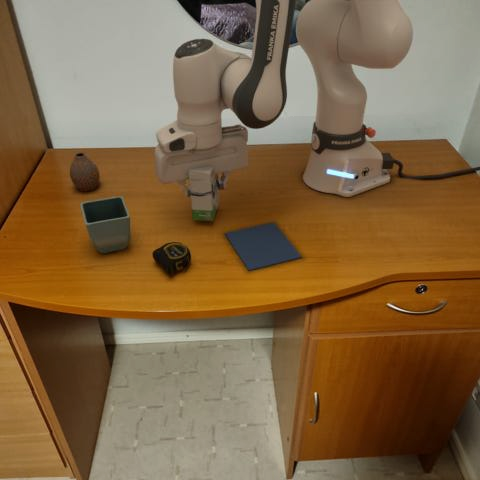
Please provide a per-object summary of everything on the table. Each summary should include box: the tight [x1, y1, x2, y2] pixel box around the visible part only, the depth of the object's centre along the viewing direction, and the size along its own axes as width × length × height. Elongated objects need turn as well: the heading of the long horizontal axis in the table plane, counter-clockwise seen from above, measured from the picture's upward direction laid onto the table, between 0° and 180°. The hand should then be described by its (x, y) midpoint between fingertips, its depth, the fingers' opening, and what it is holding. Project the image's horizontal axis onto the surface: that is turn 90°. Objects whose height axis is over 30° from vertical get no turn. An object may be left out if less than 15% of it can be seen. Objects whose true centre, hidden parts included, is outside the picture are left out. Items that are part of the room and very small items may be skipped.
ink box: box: [188, 166, 220, 222], centre depth 107 cm, size 9×5×12 cm, turn 172°
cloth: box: [224, 221, 303, 272], centre depth 104 cm, size 12×14×1 cm
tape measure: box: [152, 241, 192, 276], centre depth 98 cm, size 7×7×4 cm
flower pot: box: [79, 195, 131, 254], centre depth 101 cm, size 9×9×9 cm
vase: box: [69, 151, 101, 192], centre depth 118 cm, size 7×7×9 cm
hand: (204, 192), depth 108 cm, fingers closed on ink box, 6 cm apart
